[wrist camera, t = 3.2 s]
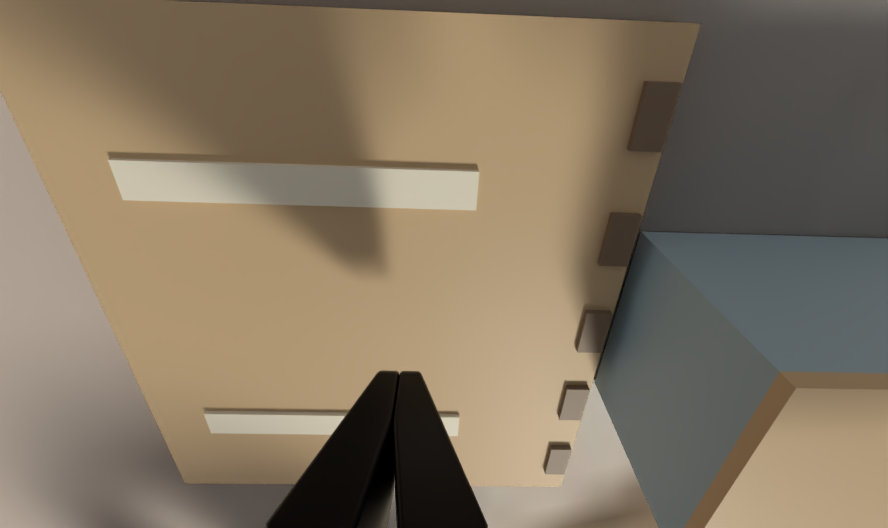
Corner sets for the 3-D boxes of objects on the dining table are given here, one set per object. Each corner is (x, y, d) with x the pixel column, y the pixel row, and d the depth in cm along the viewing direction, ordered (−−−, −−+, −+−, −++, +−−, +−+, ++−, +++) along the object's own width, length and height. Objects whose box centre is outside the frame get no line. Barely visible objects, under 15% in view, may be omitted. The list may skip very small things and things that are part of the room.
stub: (934, 239, 10) (1299, 396, 6) (830, 386, 12) (1032, 570, 8) (640, 231, 9) (796, 388, 5) (594, 382, 12) (676, 569, 8)
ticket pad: (682, 23, 7) (706, 23, 7) (556, 469, 14) (562, 491, 13) (-11, -7, 7) (-58, -11, 6) (194, 465, 13) (182, 488, 13)
